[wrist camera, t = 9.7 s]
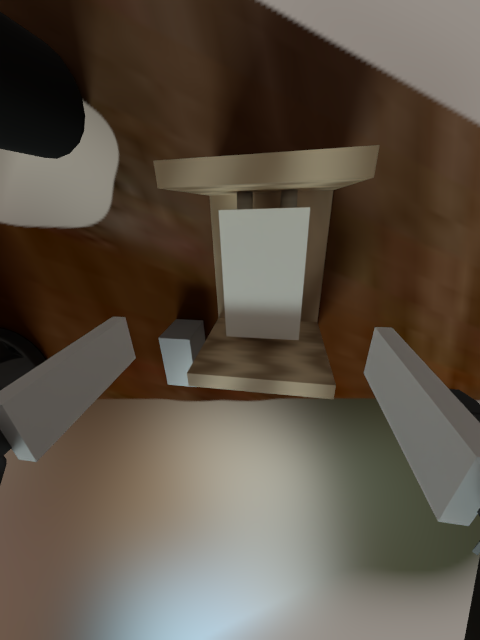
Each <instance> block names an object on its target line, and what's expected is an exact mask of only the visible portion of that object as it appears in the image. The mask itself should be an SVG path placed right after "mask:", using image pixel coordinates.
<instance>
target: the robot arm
mask: <svg viewBox="0 0 480 640" xmlns="http://www.w3.org/2000/svg"><path fill="white" fill-rule="evenodd" d="M135 358H136V357H135V353H134V350H133V346H132V342H131V338H130V334H129V330H128V326H127V323H126V319H125V317H112V318H110V319H109V320H107V321H106V322H104V323H103V324H101V325H99V326H98V327H96V328H95V329H93V330H92V331H90V332H89V333H87V334H86V335H84V336H83V337H81V338H80V339H78V340H77V341H75V342H74V343H72V344H71V345H69V346H67V347H66V348H64V349H63V350H61V351H60V352H58V353H57V354H55V355H54V356H52V357H51V358H49V359H48V360H46V359H45V358H44V356H43V355H42V354H41V352H40V351H39V350H38V349H37V348H36V347H35V346H34V345H33V344H32V343H30V342H29V341H28V340H27V339H25V338H24V337H22V336H20V335H19V334H17V333H14V332H12V331H9V330H6V329H1V328H0V484H1V481H2V477H3V474H4V471H5V467H6V458H5V457H4V454H6V453H7V452H8V451H9V450H10V449H11V448H12V450H13V451H14V453H15V454H16V456H17V457H18V459H21V460H27V461H34V462H37V461H38V460H39V459H40V458H41V457H42V456H43V455H44V454H45V452H46V451H47V450H48V449H49V448H50V447H51V446H52V445H53V444H54V443H55V442H56V441H57V440H58V439H59V438H60V437H61V436H62V435H63V434H64V433H65V432H66V431H67V429H68V428H69V427H70V426H71V425H72V424H73V423H74V422H75V421H76V420H77V419H78V418H79V417H80V416H81V415H82V414H83V413H84V412H85V411H86V410H87V408H89V406H90V405H91V404H92V403H93V402H94V401H95V400H96V399H97V398H98V397H99V396H100V395H101V394H102V393H103V392H104V391H105V390H106V389H107V388H108V387H109V386H110V385H111V383H112V382H113V381H114V380H115V379H116V378H117V377H118V376H119V375H120V374H121V373H122V372H123V371H124V370H125V369H126V368H127V367H128V366H129V365H130V364H131V363H132V361H133V360H134V359H135ZM364 375H365V377H366V379H367V381H368V383H369V385H370V387H371V389H372V391H373V393H374V395H375V397H376V399H377V401H378V403H379V405H380V407H381V409H382V411H383V413H384V415H385V417H386V419H387V421H388V423H389V425H390V427H391V429H392V430H393V433H394V435H395V437H396V439H397V441H398V442H399V445H400V447H401V449H402V451H403V452H404V454H405V457H406V459H407V460H408V463H409V465H410V467H411V469H412V471H413V472H414V475H415V477H416V479H417V480H418V482H419V484H420V487H421V489H422V490H423V493H424V494H425V496H426V498H427V500H428V502H429V504H430V506H431V508H432V510H433V512H434V514H435V516H436V518H437V520H438V521H439V522H445V523H452V524H459V525H466V526H469V525H470V524H471V522H472V521H473V519H474V518H475V517H476V515H477V514H479V516H480V404H479V403H478V402H477V401H476V400H474V399H472V398H471V397H469V396H468V395H466V394H465V393H463V392H462V391H460V390H455V389H448V388H447V387H446V386H445V384H444V383H443V382H442V381H441V380H440V379H439V378H438V377H437V376H436V375H435V374H434V373H433V372H432V370H431V369H430V368H429V367H428V366H427V365H426V364H425V363H424V362H423V361H422V360H421V359H420V357H419V356H418V355H417V354H416V353H415V352H414V351H413V350H412V349H411V348H410V347H409V346H408V344H407V343H406V342H405V341H404V340H403V339H402V338H401V337H400V336H399V335H398V334H397V333H396V331H395V330H394V329H393V328H385V327H375V329H374V333H373V337H372V341H371V345H370V350H369V354H368V358H367V362H366V366H365V371H364ZM473 552H474V553H475V554H477V555H478V554H479V553H480V541H479V542H478V544H477V545H476V546H475V548H474V549H473ZM464 640H480V559H479V564H478V569H477V574H476V580H475V585H474V591H473V596H472V601H471V607H470V612H469V618H468V623H467V628H466V634H465V639H464Z"/></svg>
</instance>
